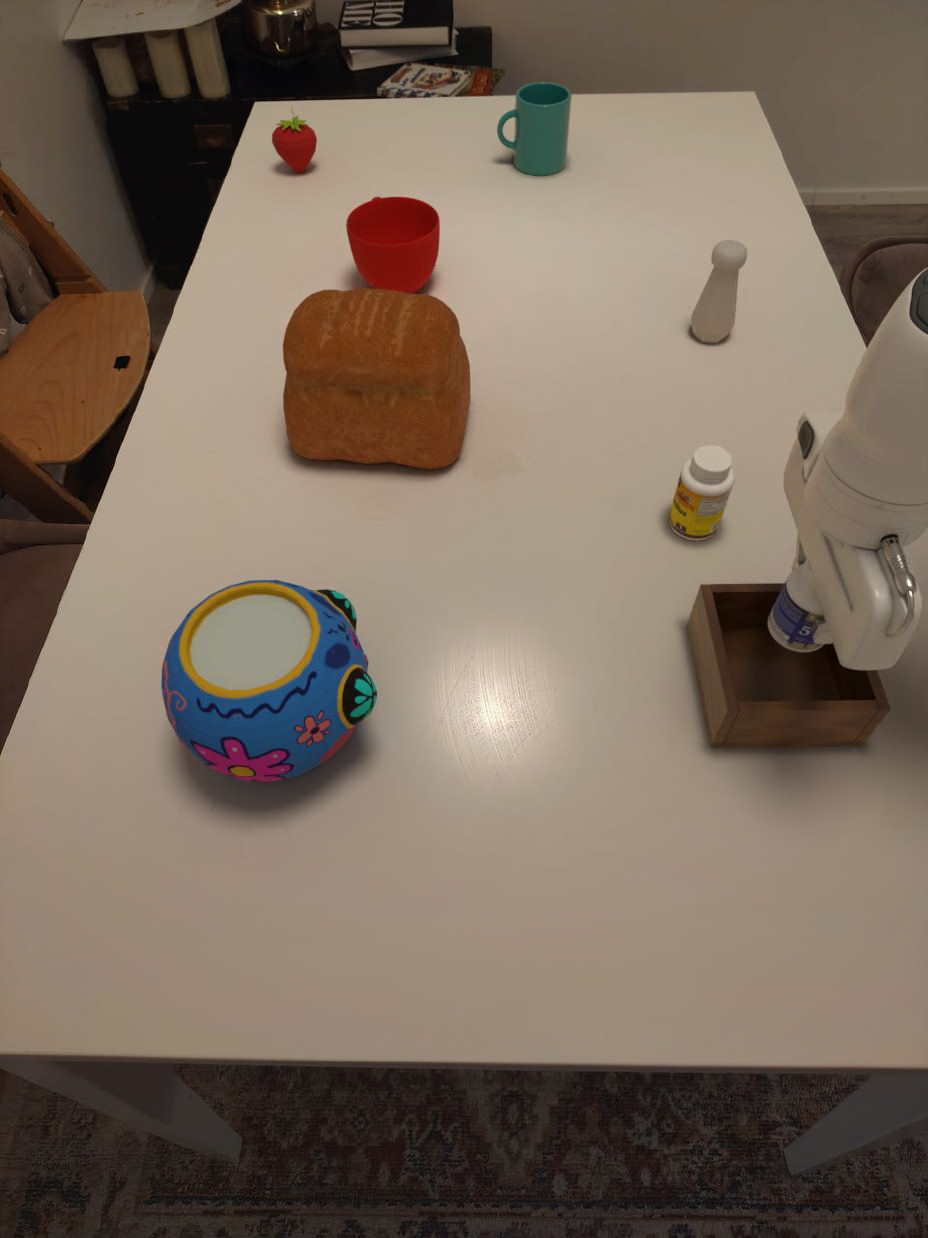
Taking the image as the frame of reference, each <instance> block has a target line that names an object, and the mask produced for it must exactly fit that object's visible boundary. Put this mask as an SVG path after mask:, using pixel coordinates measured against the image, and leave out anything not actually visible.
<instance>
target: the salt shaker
mask: <svg viewBox="0 0 928 1238" xmlns="http://www.w3.org/2000/svg"><path fill="white" fill-rule="evenodd" d="M710 259H711V260H710V261H711V264H712V266H713V268H712V270H711V272H710V274H709V276H708V278H707V281H706V283H705V285H704V287H703V289H702V292H701V293H700V295H699V298H698V300H697V303H696V304H695V307H694V309H693V310H692V312H691V315H690V316H691V317H690V326H691V331H692V335H693V336H694V337H695V338H696V339H697V340H699V341H700V342H701V343H708V344H717V343H719V342H721V341H722V340H724V339H725V338H726V337H727V336H728V334H730V332H732V330H733V328H734V327H735V325H736V324H735V323H736V311H737V298H738V286H739V274H740V272H739V271H740V269H742V268H743V267H744V265H746V262H747V259H748V249H747V247H746V246H745V245H744V243H742V242H740V241H738V240H733V239H725V240H721V241H719V242H717V244H715V246H713V249H712V251H711V258H710Z"/></svg>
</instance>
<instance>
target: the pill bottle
mask: <svg viewBox="0 0 928 1238" xmlns="http://www.w3.org/2000/svg"><path fill="white" fill-rule="evenodd" d="M784 583H785V584H784V586H783V588H782V590H781V592H780V594H779V596H778V598H777V600H776V602H775V604H774V606H773V608H772V610H771V612H770V615H769V617H768V628H769V631H770V633H771V635H772V637H773V638H774V639H775V640H776V641H777V642H778V643H779V644H780V645H782V646H783V647H785V648H787V649H790V650H792V651H796V652H811V651H815V650H817V649H819V648H821V647H822V646H823V645H824V644H816V643H814V640H813V636H812V633H811V629H810V626H811V625H812V624H813V621H814V619H815V618H825V616H824V612H823V609H822V606H821V603H820V600H819V597H818V594H817V591H816V588H815V584H814V581H813V574H812V571H811V568H810V564H809V561H808V559H806V561H805V563H804V564H802V565H800V566H798V567H796V568H795V569H794V570H793V571H792V570H791V572H790V573H789V574H788V576H787V578H786V580H785V582H784Z"/></svg>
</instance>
